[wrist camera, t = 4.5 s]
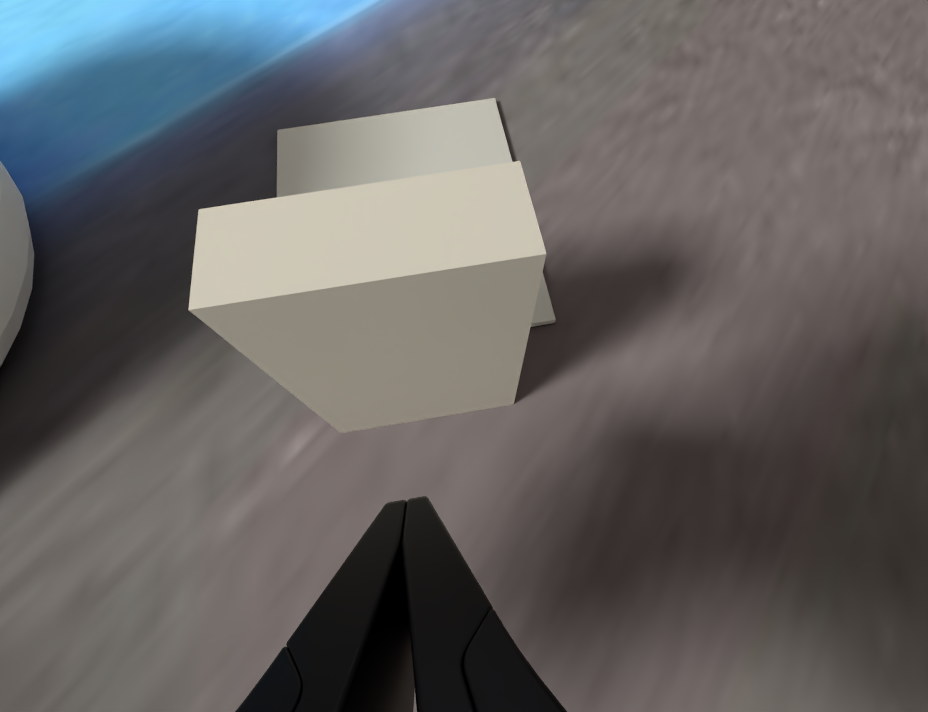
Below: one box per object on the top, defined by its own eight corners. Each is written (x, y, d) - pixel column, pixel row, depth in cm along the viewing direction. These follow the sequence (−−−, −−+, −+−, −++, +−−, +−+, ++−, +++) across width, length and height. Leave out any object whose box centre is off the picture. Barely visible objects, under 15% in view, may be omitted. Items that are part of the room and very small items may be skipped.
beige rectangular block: (513, 404, 18) (546, 253, 9) (340, 433, 18) (188, 309, 9) (501, 345, 19) (518, 155, 10) (338, 371, 19) (198, 203, 10)
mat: (554, 322, 19) (555, 319, 19) (278, 367, 19) (275, 364, 19) (494, 103, 25) (494, 97, 24) (279, 134, 24) (277, 130, 24)
